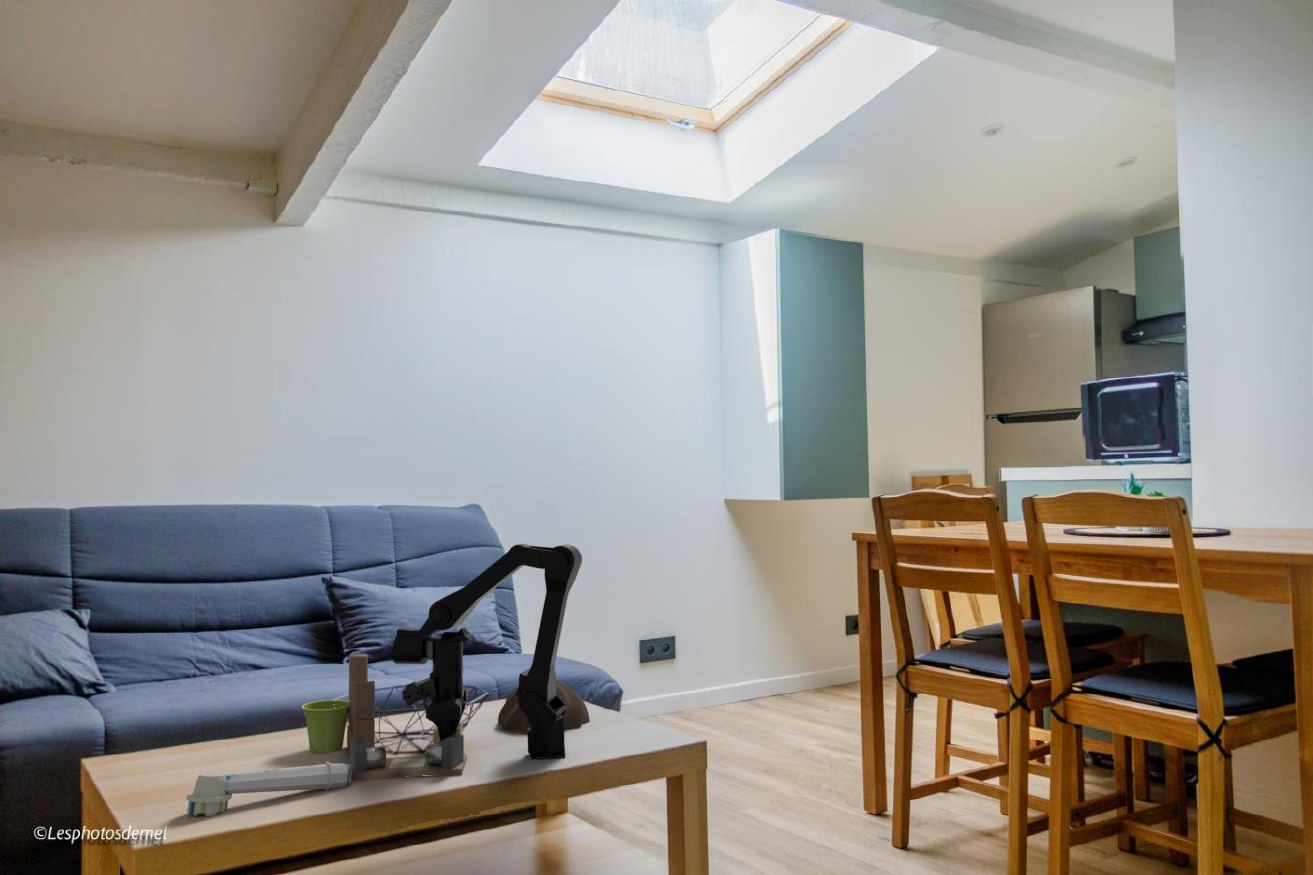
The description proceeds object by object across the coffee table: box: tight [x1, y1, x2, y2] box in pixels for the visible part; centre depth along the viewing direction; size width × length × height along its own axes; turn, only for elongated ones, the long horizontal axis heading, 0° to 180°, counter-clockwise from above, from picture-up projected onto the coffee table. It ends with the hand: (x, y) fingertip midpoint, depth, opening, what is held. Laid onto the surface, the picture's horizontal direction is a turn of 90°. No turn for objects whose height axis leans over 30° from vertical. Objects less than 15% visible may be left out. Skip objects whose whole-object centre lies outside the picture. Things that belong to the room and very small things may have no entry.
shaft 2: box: [424, 734, 465, 769], centre depth 172 cm, size 6×5×5 cm
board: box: [351, 753, 468, 781], centre depth 173 cm, size 20×10×1 cm, turn 97°
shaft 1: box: [349, 739, 387, 774], centre depth 170 cm, size 6×5×5 cm
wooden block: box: [346, 653, 376, 750], centre depth 187 cm, size 4×11×18 cm, turn 26°
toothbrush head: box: [186, 761, 352, 817], centre depth 156 cm, size 5×7×25 cm
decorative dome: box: [497, 679, 591, 735], centre depth 208 cm, size 19×20×10 cm
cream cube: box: [432, 722, 463, 744], centre depth 184 cm, size 5×5×5 cm
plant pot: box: [301, 699, 350, 754], centre depth 189 cm, size 9×9×9 cm
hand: (448, 746), depth 184 cm, fingers open, 7 cm apart
